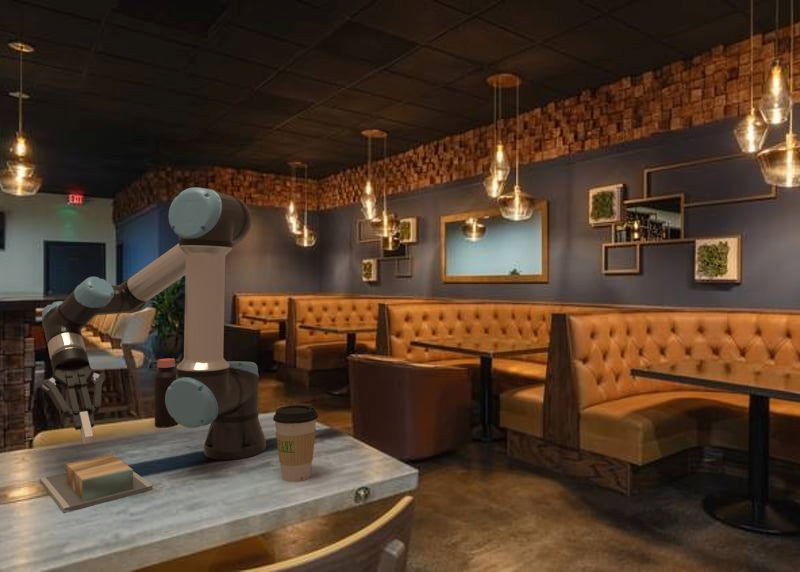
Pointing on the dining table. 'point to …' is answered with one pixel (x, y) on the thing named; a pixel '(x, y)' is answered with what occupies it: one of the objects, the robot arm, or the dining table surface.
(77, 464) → the oak slab
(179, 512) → the dining table surface
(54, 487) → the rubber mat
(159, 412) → the bottle
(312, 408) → the coffee cup
